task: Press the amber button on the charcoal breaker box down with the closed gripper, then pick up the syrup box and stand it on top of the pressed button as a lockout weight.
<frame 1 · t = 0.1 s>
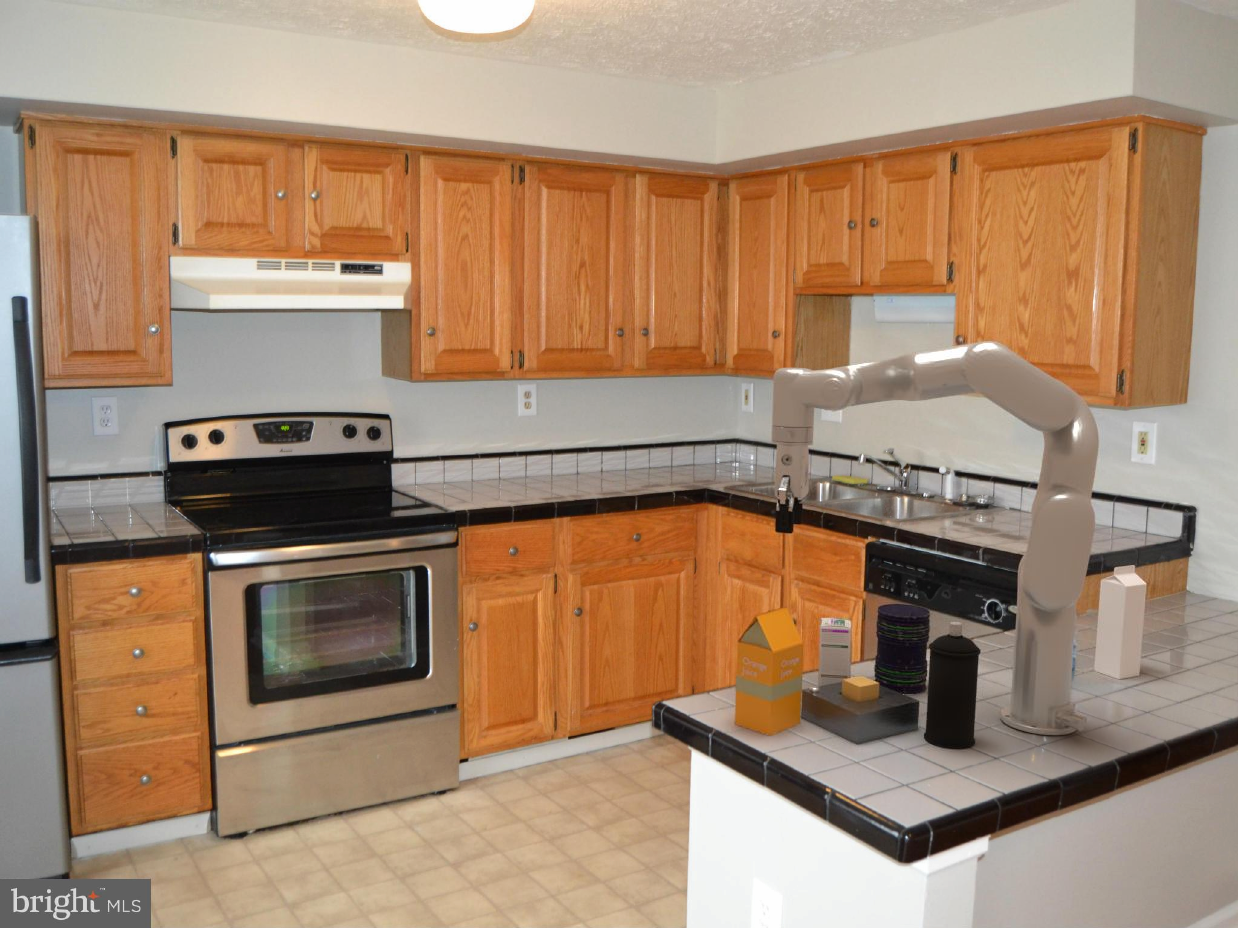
hand: (788, 528, 199), 31 cm above the counter, tool pointing down, fingers open, 9 cm apart
milk: (1116, 674, 218), on the counter
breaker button: (860, 689, 187), point 6 cm above the counter, slide at 0.0 cm
breaker box: (858, 723, 187), on the counter
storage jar: (899, 687, 207), on the counter
orange juice: (767, 724, 186), on the counter
aerosol can: (949, 741, 180), on the counter
syrup box: (833, 699, 200), on the counter
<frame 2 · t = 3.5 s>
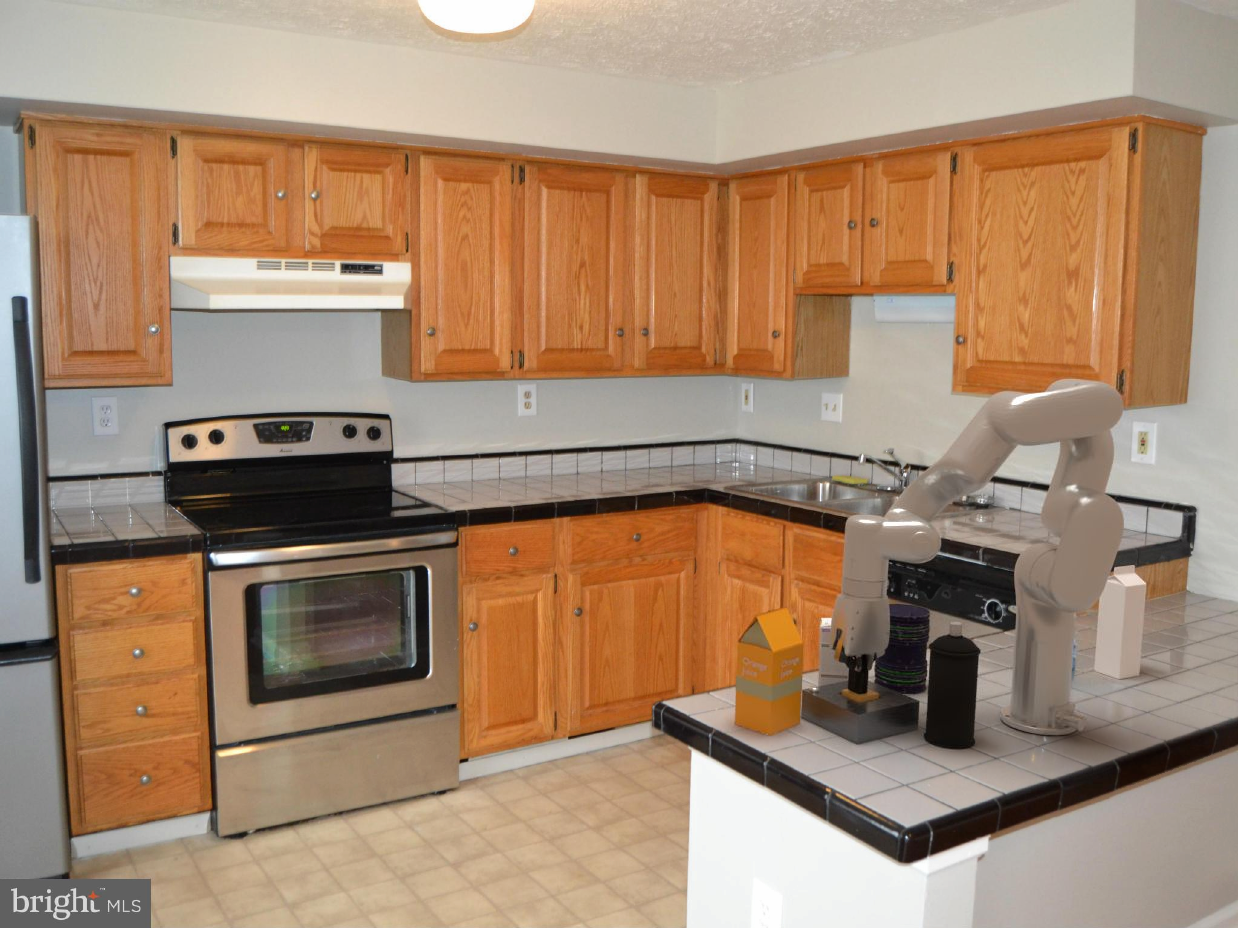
hand: (857, 691, 187), 6 cm above the counter, tool pointing down, fingers closed
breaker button: (859, 699, 187), point 4 cm above the counter, slide at 1.9 cm, touching gripper
everything else where it was.
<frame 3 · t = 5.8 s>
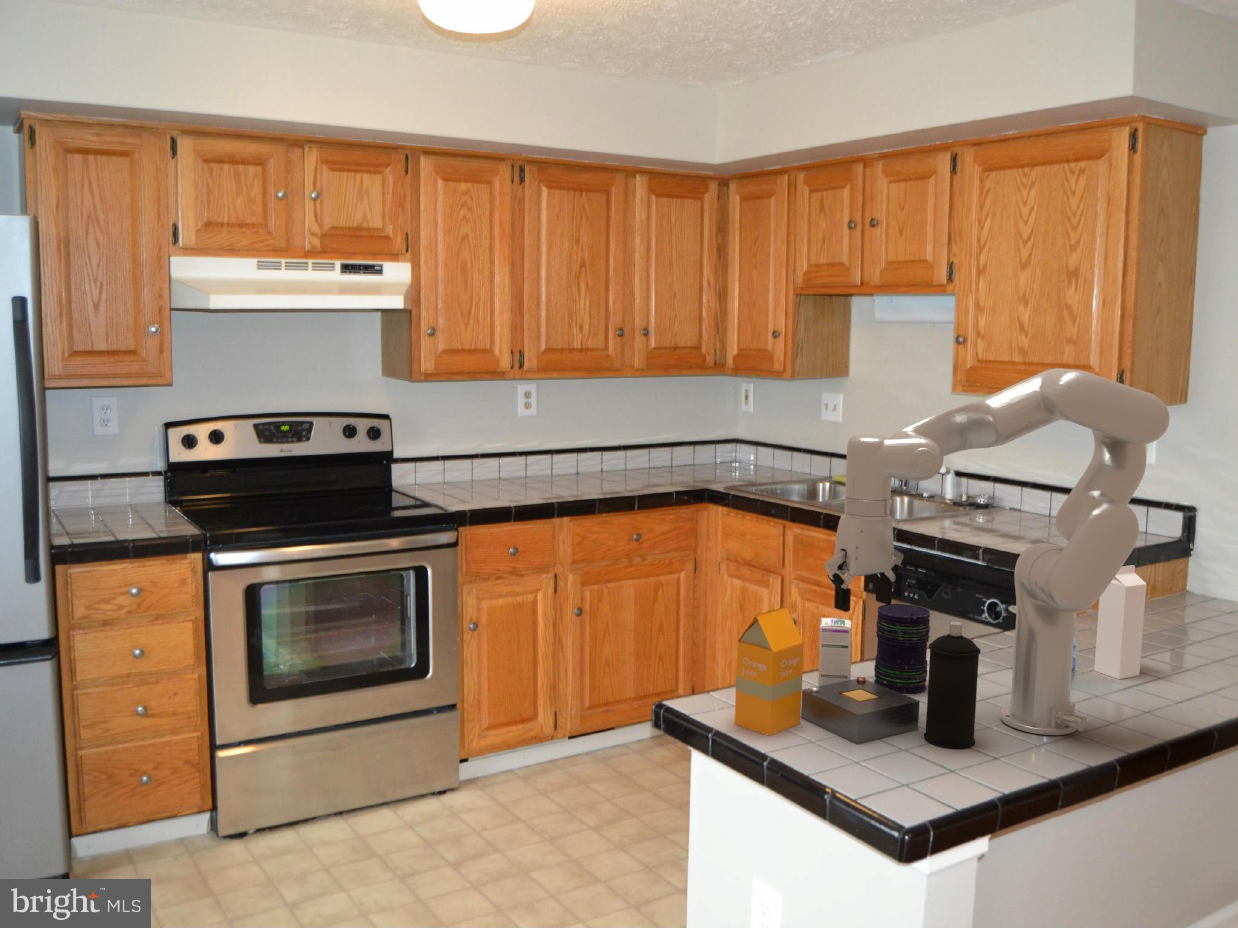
hand: (862, 606, 186), 21 cm above the counter, tool pointing down, fingers open, 9 cm apart
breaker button: (859, 703, 187), point 4 cm above the counter, slide at 2.5 cm
everything else where it was.
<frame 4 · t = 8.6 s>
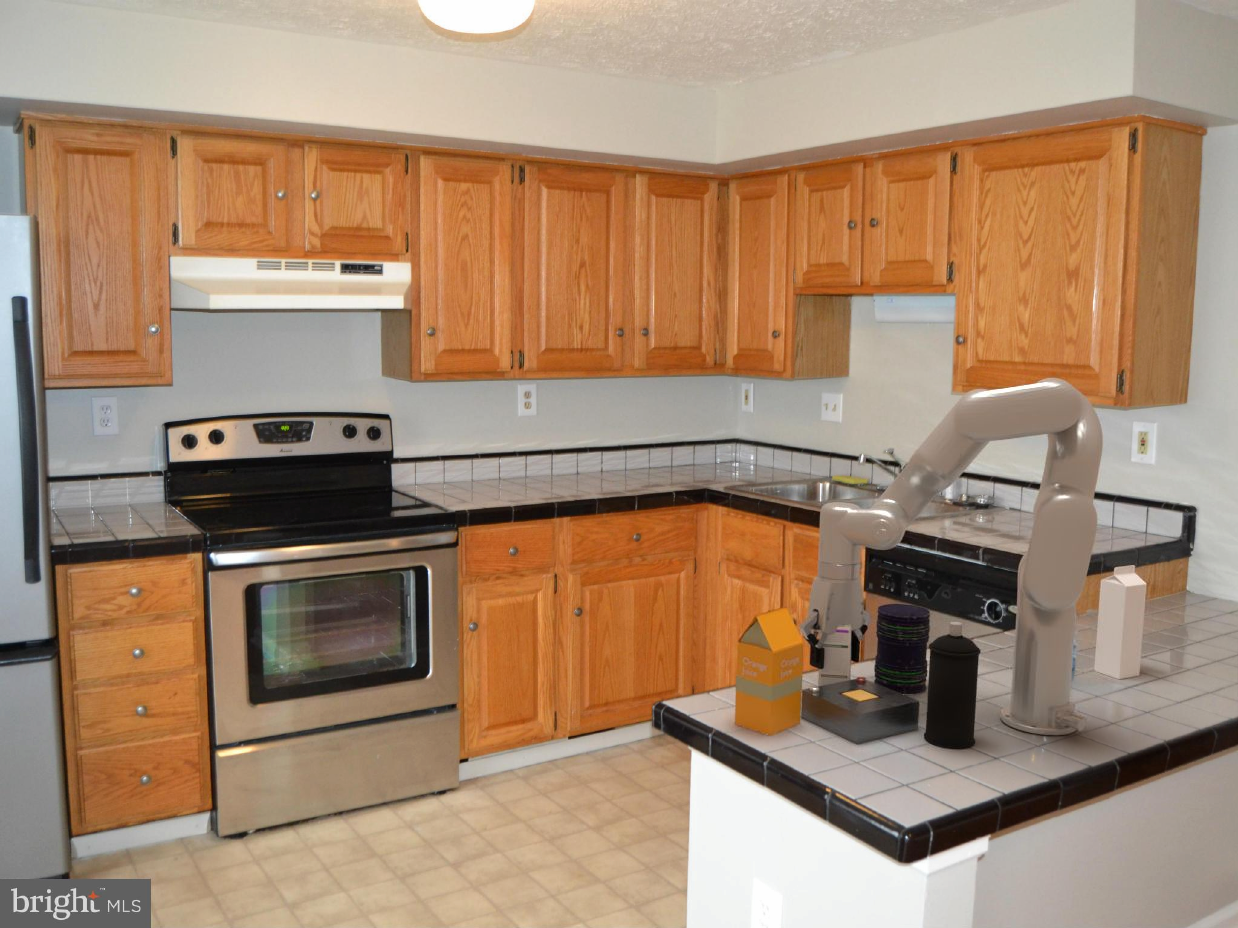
hand: (834, 663, 199), 7 cm above the counter, tool pointing down, fingers closed on syrup box, 8 cm apart
syrup box: (833, 699, 200), on the counter, touching gripper
everything else where it was.
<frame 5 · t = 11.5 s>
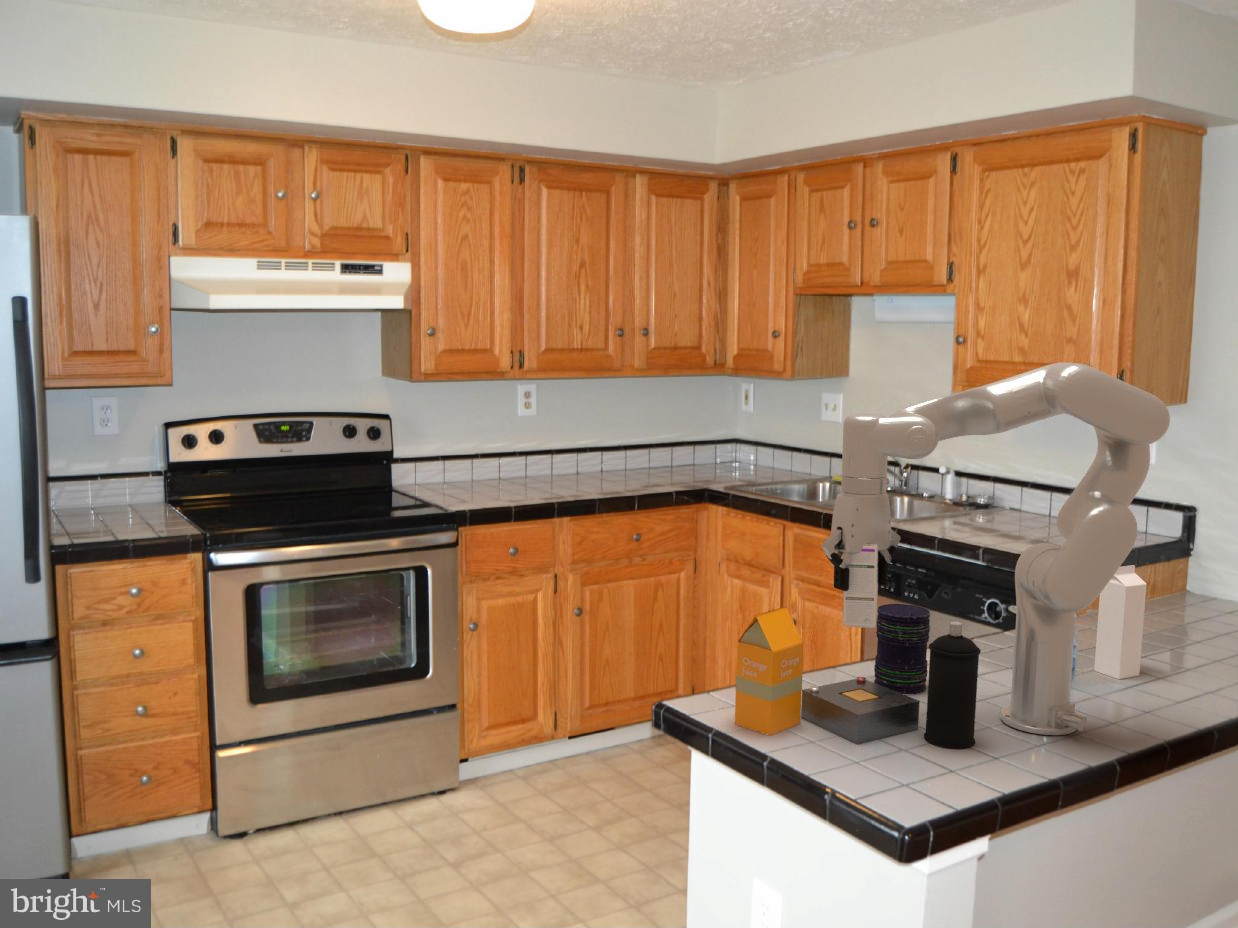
hand: (860, 586, 187), 24 cm above the counter, tool pointing down, fingers closed on syrup box, 8 cm apart
syrup box: (859, 624, 188), point 17 cm above the counter, touching gripper
everything else where it was.
when the fingers open (13 cm above the counter, at t = 14.4 s): syrup box drops 1 cm, resting on breaker box.
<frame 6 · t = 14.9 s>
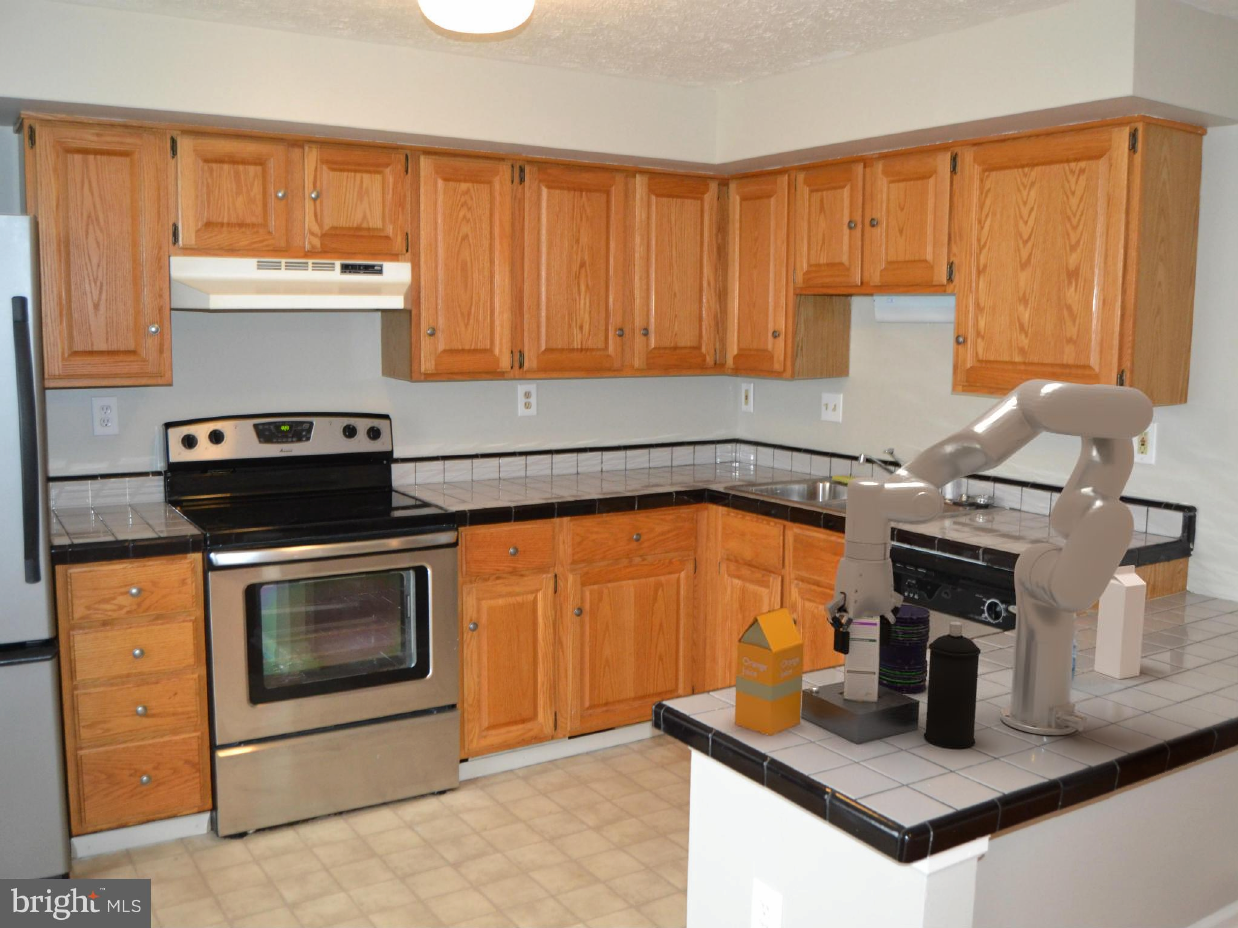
hand: (862, 648, 186), 13 cm above the counter, tool pointing down, fingers open, 9 cm apart
syrup box: (859, 696, 187), point 5 cm above the counter, touching breaker box
everything else where it was.
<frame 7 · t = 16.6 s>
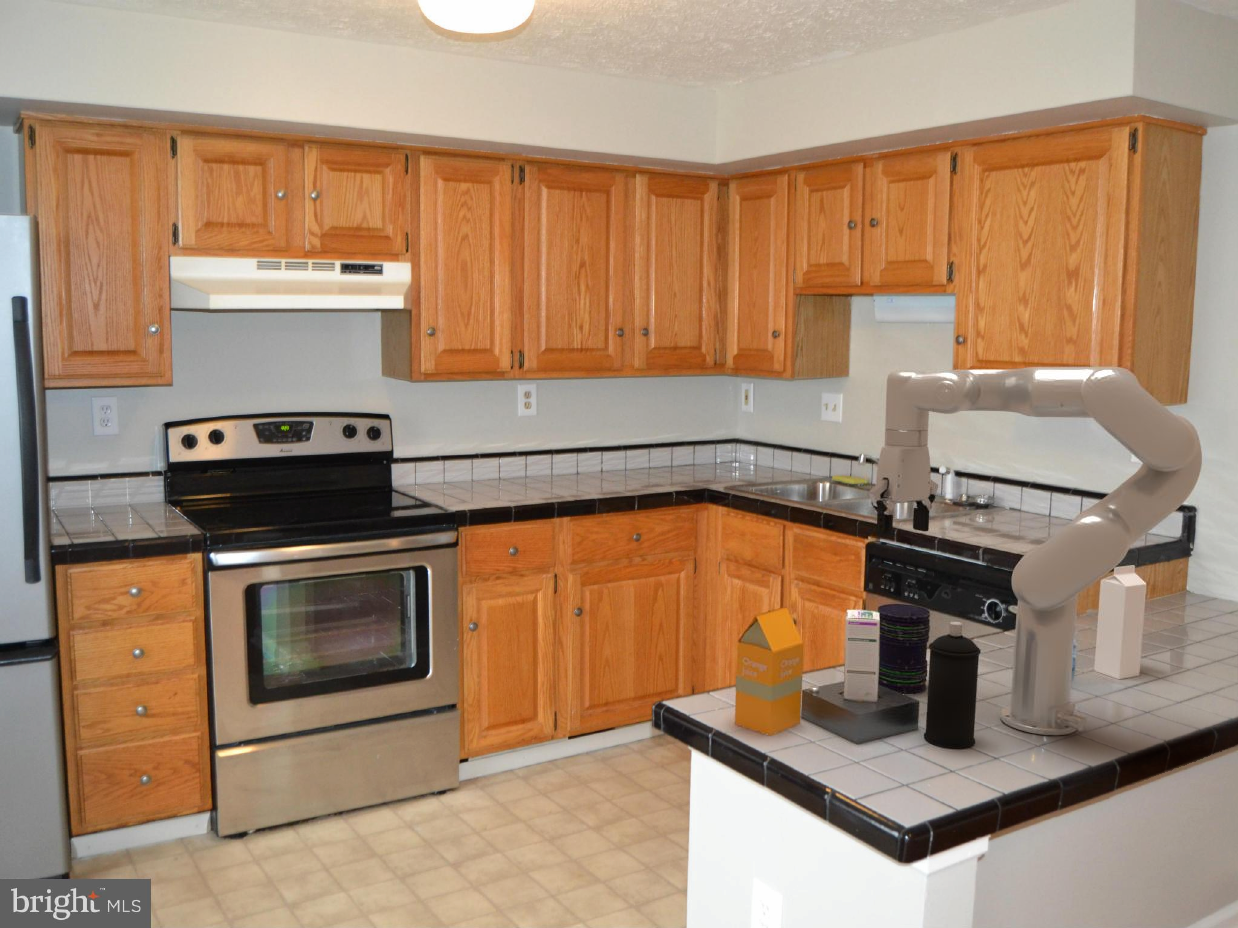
hand: (902, 532, 197), 31 cm above the counter, tool pointing down, fingers open, 9 cm apart
nothing on the counter moved.
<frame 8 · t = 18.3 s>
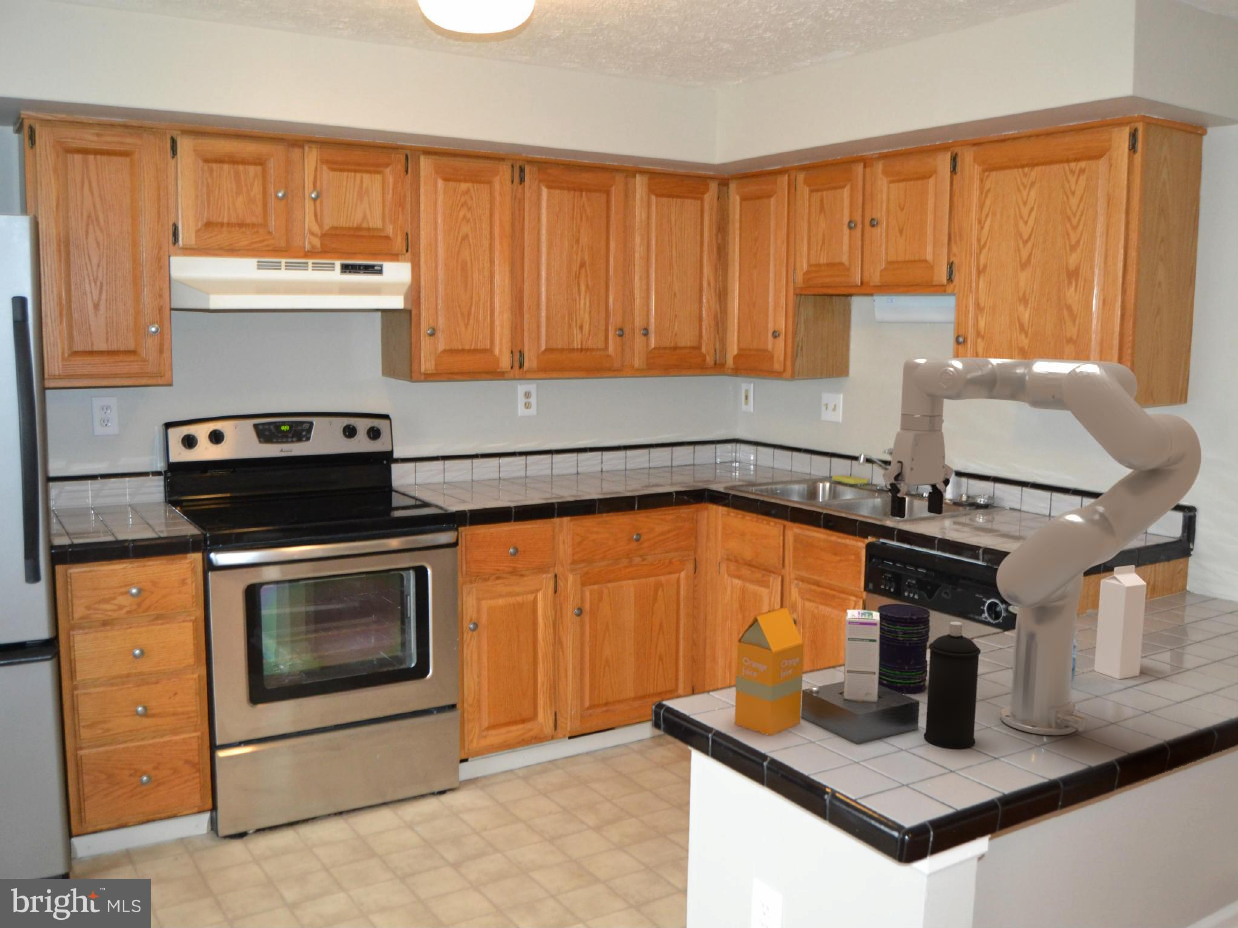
hand: (916, 515, 203), 33 cm above the counter, tool pointing down, fingers open, 9 cm apart
nothing on the counter moved.
at the end: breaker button slide at 2.5 cm; syrup box 0.2 cm off-centre on the breaker box, point 4.8 cm above the breaker box's base; syrup box tilted 0° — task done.
